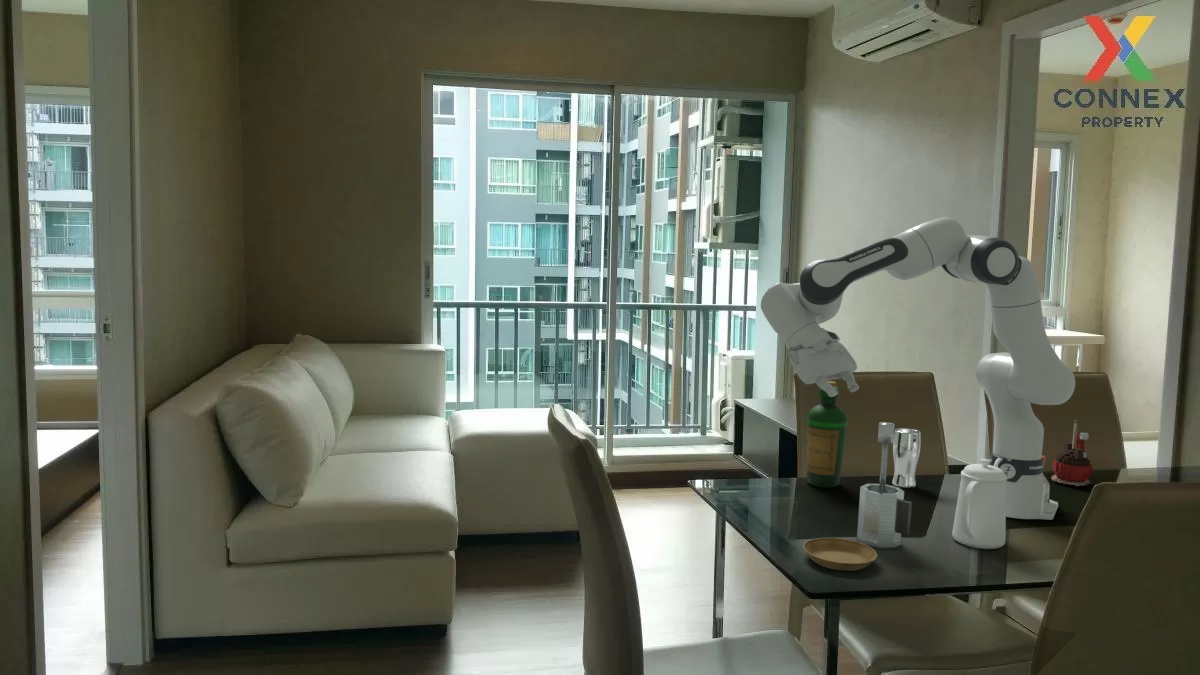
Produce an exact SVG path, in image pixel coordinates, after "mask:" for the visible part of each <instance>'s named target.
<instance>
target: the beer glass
mask: <svg viewBox="0 0 1200 675" xmlns="http://www.w3.org/2000/svg"><path fill="white" fill-rule="evenodd" d="M920 453H921V431H920V430H917V429H915V428H913V429H912V428H905V427H904V428H903V427H902V428H899V427H898V428H896V429H895V428H894V440H893V443H892V455H893V462H894V463H893V464H894V465H893V466H894V473H893V478H892V482H891V483H892V486H895V487H899V488H904V489H905V488H906V489H910V488H911V487H913V488H915V487H916V485H917V483H916V469H917V464H918V460H919V457H920ZM911 489H912V488H911Z"/></svg>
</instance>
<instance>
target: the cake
mask: <svg viewBox="0 0 1200 675" xmlns="http://www.w3.org/2000/svg"><path fill="white" fill-rule="evenodd" d="M1078 425H1079V420H1077V419H1074V424H1073V433H1072V442H1064V444H1063V451H1061V452H1059V453H1058V454H1056V456H1055V459H1053V460H1052V468H1051V469H1052V471H1053V473H1054V474H1053V475H1051V477H1050V478H1051V480H1052V481H1053V482H1057V483H1059V484H1061V483H1063V484H1062V485H1065V484H1069V485H1075V486H1074V487H1079V486H1080V487H1082V486H1084V485H1086V484H1089V483H1090V484H1091V480H1089V477H1092V475H1093V465H1092V464H1091V463H1090V459H1089V458H1088V456H1087V452H1086V451H1085V449H1086V447H1085V441H1088V440H1089V436H1090V435H1089V433H1088V432H1079V433H1078V427H1079V426H1078ZM1069 485H1068V486H1069ZM1081 485H1082V486H1081ZM1086 486H1087V485H1086Z"/></svg>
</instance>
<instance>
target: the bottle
mask: <svg viewBox="0 0 1200 675" xmlns="http://www.w3.org/2000/svg"><path fill="white" fill-rule="evenodd" d="M827 381H828V382H829V383H830V384H831V385H832V386H835V387H836V389H837V390H838V392H839V387H838V386H836V385H837V384H836V383H837V382H836V381H833V380H827ZM817 395H818V396H819V397H820V399H819V400H820V401H819V402H820V403H819V404H817V405H814V406H813V407H812V408H811V409H810V410H809V412H808V413H807V415H806V482H807V483H808V484H809V485H811V486H814V487H817V488H821V489H832V488H836V487H838V486H840V482H841V475H842V474H841V473H842V465H843V457H844V451H845V450H844V448H845V441H846V435H847V428H848V427H847V426H848V420H849V416H848V415H847V413H846V412H845V410H843V409H842V408H841V407H840V406H838V405H837V400H838V397H840V393H838V394H837V395H836V396H834V397H830V396H829V395H828V394H827V392H826V391H824V390H823V389H821V388H820V387H819V390H818V393H817Z"/></svg>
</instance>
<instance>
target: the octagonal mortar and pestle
mask: <svg viewBox="0 0 1200 675" xmlns="http://www.w3.org/2000/svg"><path fill="white" fill-rule="evenodd" d="M879 486H880V483H866V484H864V485H860V489H859V503H858V517H857V520H858V521H857V530H856V531H857V532H856V533H857V534H856V542H857V541H858V542H859V543H862V544H865V545H867V546H869V547H871V548H872V549H874V550H875V549H876V550H881V551H889V550H890V551H893V550H896V549H899V548H901V543H902V535H904V536H907V535H910V534H911V532H910V531H911V519H912V505H913V503H912V501H909V500H905V498H904V497H905V491H904V490H903V489H901V487H898V486H895V485H889V484H886V483H885V493H879Z"/></svg>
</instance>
